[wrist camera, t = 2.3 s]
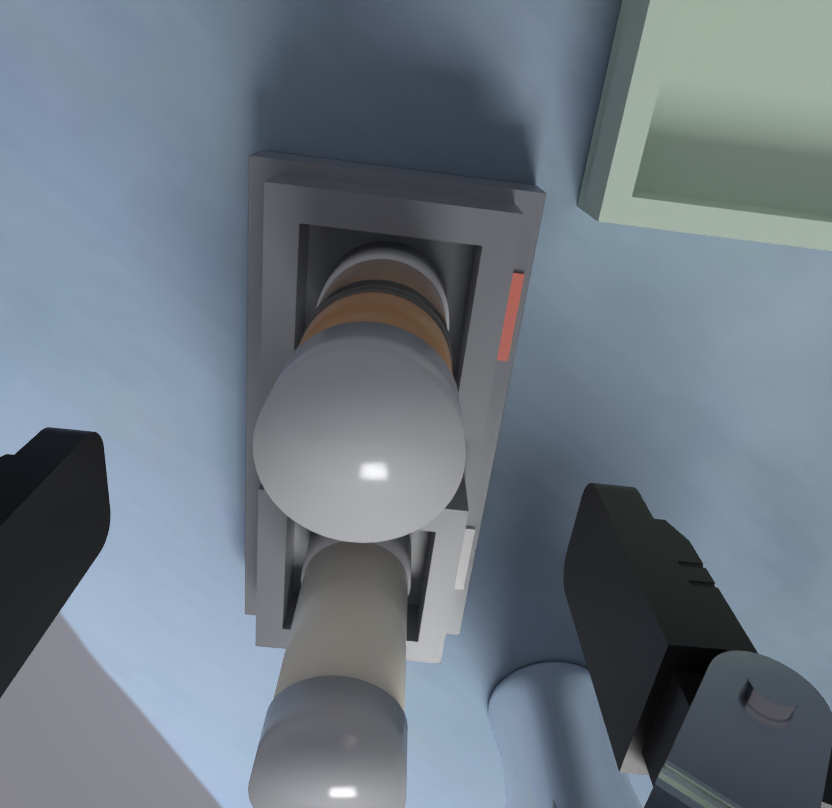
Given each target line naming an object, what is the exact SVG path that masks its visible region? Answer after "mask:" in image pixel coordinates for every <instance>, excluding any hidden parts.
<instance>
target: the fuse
mask: <svg viewBox="0 0 832 808" xmlns="http://www.w3.org/2000/svg"><path fill="white" fill-rule="evenodd" d="M411 550H412V547H411V540H410V537H409V535H408V534H407V535H405V536H402V537H399V538H395V539H392V540H387V541H381V542H370V543H357V542H347V541H340V540H336V539H332V538H328V537H325V536H322V535H320V534H317V533H314V532H312V534H311V537H310V541H309V545H308V549H307V553H306V557H305V561H304V565H303V569H302V575H301V584H302V585H301V589H300V593H299V597H298V601H297V605H296V609H295V614H294V618H293V622H292V626H291V630H290V634H289V638H288V642H287V646H286V650H285V654H284V659H283V663H282V667H281V671H280V675H279V679H278V683H277V687H276V691H275V695H274V699H273V701H272V702H271V704H270V706H269V707H268V710H267V713H266V717H265V721H264V725H263V729H262V733H261V737H260V741H259V745H258V749H257V753H256V757H255V761H254V765H253V769H252V773H251V777H250V781H249V787H248V793H249V799H250V802H251V804H252V806H253V808H404V807H405V803H406V777H407V731H408V726H407V719H406V716H405V713H404V710H405V674H406V638H407V602H408V595H409V592H410V587H411Z"/></svg>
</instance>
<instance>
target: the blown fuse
mask: <svg viewBox="0 0 832 808" xmlns="http://www.w3.org/2000/svg"><path fill="white" fill-rule="evenodd" d="M448 331H449V310H448V302H447V294H446V289H445V285H444V282H443V279H442V277H441V275H440V273H439V271H438V270H437V268H436V267H435V265H434V264H433V263H432V262H431V261H430V260H429V259H428V258H427V257H426V256H425V255H423V254H422V253H421V252H419V251H418V250H416V249H414V248H412V247H410V246H408V245H405V244H402V243H397V242H392V241H378V242H372V243H367V244H364V245H362V246H359V247H357V248H355V249H353V250H352V251H350V252H349V253H347V254H346V255H345V256H344V257H343V258H342V259H341V260H340V261H339V262H338V263H337V264H336V266H335V267H334V269H333V270H332V272H331V274H330V276H329V278H328V280H327V282H326V284H325V286H324V288H323V290H322V292H321V294H320V297H319V300H318V303H317V308H316V309H315V311H314V313H313V314H312V316H311V318H310V320H309V322H308V324H307V326H306V328H305V330H304V332H303V334H302V337H301V339H300V343H299V347H298V348H297V349H296V350H295V351H294V352H293V353H292V355H291V356H290V357H289V358H288V360H287V362H286V363H285V365H284V367H283V368H282V370H281V372H280V374H279V376H278V378H277V380H276V382H275V384H274V386H273V388H272V390H271V392H270V394H269V396H268V398H267V400H266V402H265V404H264V406H263V408H262V410H261V412H260V414H259V417H258V419H257V422H256V426H255V430H254V436H253V458H254V462H255V467H256V471H257V473H258V476H259V479H260V481H261V483H262V485H263V487H264V489H265V491H266V492H267V494H268V495H269V496H270V498H271V499H272V501H273V502H274V503H275V504H276V505H277V506H278V507H279V508H280V509H281V511H283V512H284V513H285V514H286V515H287V516H288V517H290V518H291V519H292V520H294V521H295V522H297V523H298V524H300V525H301V526H303V527H305V528H307V529H308V530H310V531H312V532H314V533H317V534H320V535H322V536H325V537H328V538H332V539H336V540H340V541H347V542H357V543H370V542H381V541H387V540H392V539H395V538H399V537H402V536H405V535H407V534H409V533H412V532H414V531H416V530H418V529H420V528H421V527H423V526H425V525H426V524H428V523H429V522H430V521H432V520H433V519H434V518H436V517H437V516H438V515H439V514H440V513H441V512H442V511H443V510H444V509H445V507H446V506H447V505H448V504H449V502H450V501H451V500H452V498H453V496H454V495H455V493H456V491H457V489H458V487H459V485H460V482H461V480H462V476H463V472H464V468H465V459H466V449H465V438H464V430H463V422H462V414H461V406H460V398H459V393H458V388H457V385H456V382H455V379H454V377H453V375H452V370H453V360H452V350H451V342H450V337H449V332H448Z"/></svg>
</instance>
